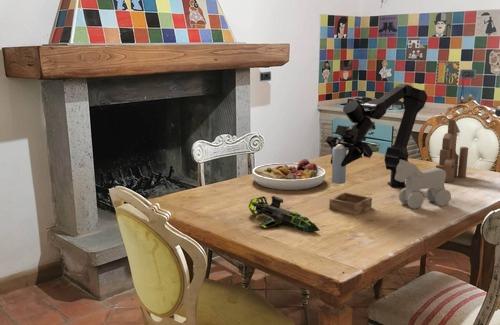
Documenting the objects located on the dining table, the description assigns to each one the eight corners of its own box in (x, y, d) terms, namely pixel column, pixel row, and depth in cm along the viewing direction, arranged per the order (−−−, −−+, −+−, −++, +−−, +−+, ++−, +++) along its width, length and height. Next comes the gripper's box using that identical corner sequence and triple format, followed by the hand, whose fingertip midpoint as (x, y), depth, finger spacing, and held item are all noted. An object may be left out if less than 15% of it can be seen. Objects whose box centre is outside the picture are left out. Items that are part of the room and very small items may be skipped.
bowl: (300, 196, 189) (301, 176, 187) (237, 184, 207) (237, 165, 205) (338, 180, 213) (338, 162, 211) (278, 170, 230) (278, 153, 228)
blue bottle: (330, 180, 185) (331, 143, 181) (343, 180, 185) (345, 142, 182) (333, 183, 180) (334, 145, 177) (346, 183, 180) (348, 145, 177)
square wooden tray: (344, 201, 182) (345, 192, 181) (371, 207, 175) (371, 197, 175) (329, 208, 174) (329, 199, 173) (356, 215, 168) (357, 204, 167)
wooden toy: (450, 183, 206) (455, 122, 200) (434, 180, 211) (439, 120, 205) (467, 176, 216) (472, 118, 211) (451, 174, 221) (456, 117, 215)
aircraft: (300, 248, 145) (302, 227, 143) (234, 219, 164) (235, 200, 162) (336, 233, 157) (338, 213, 155) (270, 208, 176) (271, 190, 174)
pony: (403, 212, 170) (406, 163, 167) (387, 203, 180) (390, 157, 176) (454, 207, 176) (458, 159, 172) (436, 198, 185) (439, 153, 182)
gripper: (330, 114, 187) (307, 147, 183) (368, 119, 172) (344, 155, 168) (344, 133, 193) (322, 165, 189) (383, 139, 178) (360, 174, 174)
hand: (336, 164), depth 180 cm, fingers closed on blue bottle, 5 cm apart
